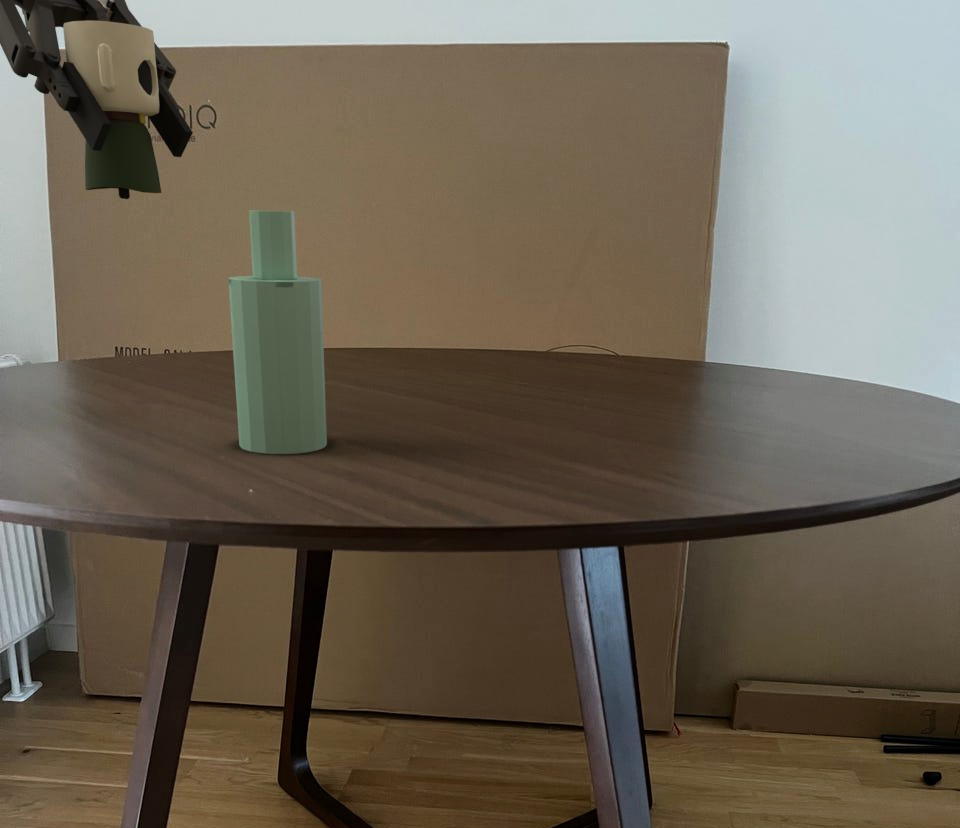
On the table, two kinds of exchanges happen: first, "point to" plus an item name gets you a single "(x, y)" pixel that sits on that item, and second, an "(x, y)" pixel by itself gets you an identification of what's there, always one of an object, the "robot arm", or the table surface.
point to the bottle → (278, 344)
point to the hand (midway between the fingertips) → (143, 140)
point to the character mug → (118, 101)
